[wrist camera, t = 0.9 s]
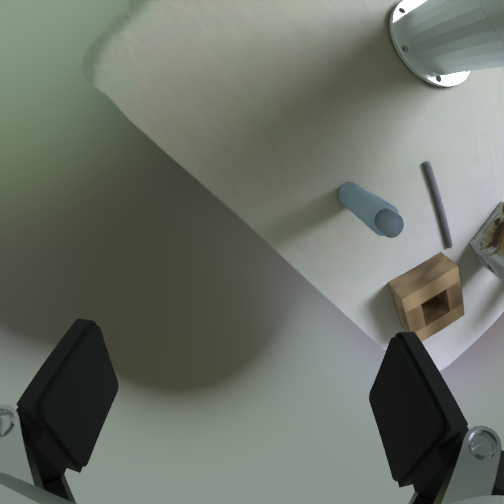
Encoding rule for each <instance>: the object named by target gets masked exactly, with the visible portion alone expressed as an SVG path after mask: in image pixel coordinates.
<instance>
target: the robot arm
mask: <svg viewBox="0 0 504 504" xmlns="http://www.w3.org/2000/svg"><path fill="white" fill-rule="evenodd" d="M389 29H390V35H391V39H392V41H393V44H394V47H395V49H396V51H397V53H398V54H399V56H400V57H401V59H402V60H403V62H404V63H405V64H406V65H407V66H408V68H409V69H410V70H411V71H412V72H413V73H415V74H416V75H417V76H418V77H420V78H421V79H423V80H424V81H426V82H428V83H430V84H432V85H435V86H439V87H451V86H456V85H458V84H460V83H462V82H463V81H464V80H465V79H466V78H467V77H468V75H469V73H470V71H472V70H479V69H486V68H494V67H503V66H504V0H403V1H402V2H400V3H399V4H398V5H397V6H396V7H395V8H394V9H393V11H392V13H391V16H390V20H389ZM402 49H403V50H402ZM117 391H118V380H117V378H116V375H115V372H114V369H113V366H112V363H111V361H110V358H109V355H108V351H107V348H106V345H105V342H104V339H103V335H102V332H101V329H100V327H99V326H97V325H96V323H95V322H94V321H92V320H85V319H77V320H76V321H75V322H74V324H73V325H72V326H71V327H70V329H69V330H68V331H67V333H66V334H65V335H64V337H63V338H62V339H61V341H60V342H59V344H58V345H57V346H56V347H55V349H54V350H53V351H52V353H51V354H50V355H49V357H48V358H47V360H46V361H45V363H44V364H43V365H42V367H41V368H40V370H39V371H38V372H37V374H36V375H35V377H34V378H33V380H32V381H31V383H30V384H29V386H28V387H27V389H26V390H25V392H24V393H23V395H22V396H21V398H20V400H19V401H18V403H17V406H18V408H17V410H15V409H14V408H13V407H11V406H9V405H0V504H76V502H75V499H74V497H73V495H72V493H71V490H70V488H69V485H68V483H67V480H66V477H65V475H64V473H65V470H66V468H69V469H71V470H74V471H77V472H79V473H80V472H81V469H82V467H85V466H86V465H87V464H88V461H89V459H90V456H91V454H92V451H93V449H94V446H95V444H96V441H97V438H98V436H99V434H100V431H101V429H102V426H103V424H104V422H105V419H106V417H107V415H108V412H109V410H110V408H111V405H112V403H113V401H114V398H115V396H116V394H117ZM369 395H370V396H369V401H370V404H371V407H372V410H373V414H374V416H375V420H376V423H377V426H378V429H379V433H380V436H381V439H382V442H383V446H384V449H385V453H386V456H387V459H388V463H389V466H390V470H391V473H392V477H393V479H394V480H395V481H398V484H399V487H403V486H407V485H411V484H413V486H414V489H415V492H414V494H413V496H412V498H411V500H410V502H409V504H504V451H502V450H501V441H500V438H499V436H498V435H497V433H495V431H493V430H492V429H490V428H488V427H485V426H475V427H473V428H471V429H470V430H469V429H468V427H467V425H468V423H467V421H466V420H465V418H464V416H463V414H462V412H461V410H460V408H459V406H458V404H457V402H456V401H455V399H454V397H453V396H452V393H451V391H450V390H449V388H448V386H447V385H446V383H445V381H444V379H443V378H442V376H441V374H440V372H439V370H438V369H437V367H436V365H435V364H434V362H433V360H432V359H431V357H430V355H429V354H428V352H427V350H426V349H425V347H424V346H423V344H422V342H421V341H420V339H419V338H418V336H417V334H416V333H415V332H413V331H412V332H399V333H397V334H396V335H395V337H393V338H391V340H390V342H389V345H388V348H387V351H386V354H385V356H384V359H383V361H382V364H381V366H380V369H379V372H378V374H377V377H376V379H375V381H374V384H373V386H372V388H371V391H370V394H369Z"/></svg>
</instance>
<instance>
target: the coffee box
mask: <svg viewBox="0 0 504 504" xmlns="http://www.w3.org/2000/svg"><path fill="white" fill-rule="evenodd" d="M470 245H471V246H472V248H473V250H474V251H475V253H476V255H477V257H478V259H479V260H480V262H481V264H482V266H484V267H485V268H487V269H488V270H489V271H491V272H492V273H493V274H494V275H495V276H497V277H498V278H499V279H500V280H502V281H503V282H504V202H500V204H499V205H498V206H497V208H496V209H495V211H494V212H493V213H492V215H491V216H490V217H489V219H488V220H487V221H486V223H485V224H484V225H483V226H482V228H481V229H480V230H479V231H478V233H477V234H476V235H475V236H474V238H473V239H472V240H471V241H470Z"/></svg>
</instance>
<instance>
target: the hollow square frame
mask: <svg viewBox="0 0 504 504" xmlns="http://www.w3.org/2000/svg"><path fill="white" fill-rule="evenodd" d="M388 283H389V286H390V289H391V293H392V296H393V299H394V302H395V305H396V308H397V311H398V315H399V318H400V321H401V325H402V328H403V329H404V331H405V332H412V331H413V332H415V333H416V334H417V336H418V338H419V339H420V341H423V340H425V339H427V338H428V337H430V336H432V335H433V334H435V333H437V332H438V331H440V330H442V329H443V328H445V327H446V326H448V325H450V324H451V323H453V322H454V321H456V320H457V319H459V318H460V317H462V316H463V315H464V306H463V298H462V290H461V282H460V276H459V269H458V265H456V264H455V263H454V262H453V261H451V260H450V259H449V258H448V257H446V256H445V255H444V254H443V253H441V252H440V253H439V254H437V255H435V256H434V257H432V258H430V259H429V260H427V261H425V262H424V263H422V264H420V265H418V266H417V267H415V268H413V269H411V270H410V271H408V272H406V273H404V274H403V275H401V276H399V277H397V278H395V279H394V280H392V281H390V282H388Z"/></svg>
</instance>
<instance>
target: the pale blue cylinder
mask: <svg viewBox="0 0 504 504" xmlns="http://www.w3.org/2000/svg"><path fill="white" fill-rule="evenodd" d="M338 198H339V201H340V202H341V203H342V204H343V205H344V206H345V207H347V208H348V209H349V210H350V211H351V212H352V213H354V214H355V215H356V216H357V217H358V218H359V219H360V220H362V221H363V222H364V223H365V224H366V225H367V226H368V227H369V228H370V229H372V230H373V231H374V232H375V233H376V234H378V235H381V236H387V237H390V238H393V237H396V236H398V235H399V234H400V233H401V231H402V229H403V225H404V224H403V219H402V218H401V216H400V215H399V213H398V211H397V209H396V208H395V207H394V206H393V205H391V204H389V203H388V202H386V201H384V200H383V199H381V198H379V197H378V196H376V195H374V194H372V193H371V192H369V191H367V190H365V189H364V188H362V187H360V186H358V185H356V184H354V183H351V182H348V183H345V184H343V185H342V186H341V187H340V188H339V191H338Z"/></svg>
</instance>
